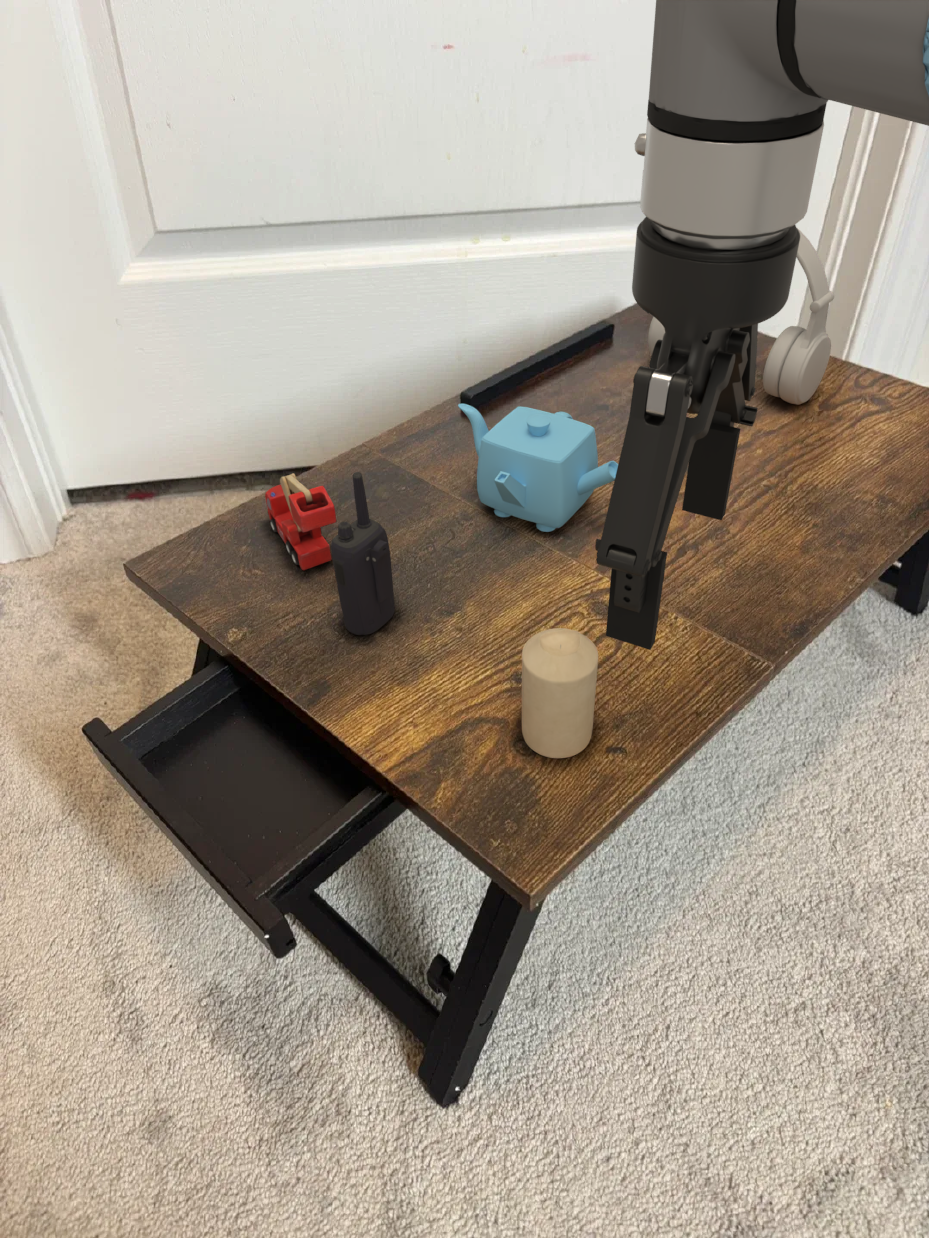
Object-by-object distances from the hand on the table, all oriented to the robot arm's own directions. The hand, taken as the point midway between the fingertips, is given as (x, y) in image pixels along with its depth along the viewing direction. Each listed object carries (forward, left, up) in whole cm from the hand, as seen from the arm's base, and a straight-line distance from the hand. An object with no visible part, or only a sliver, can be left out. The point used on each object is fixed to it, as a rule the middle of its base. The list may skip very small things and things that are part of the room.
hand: (669, 571), depth 58 cm
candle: (+6, +3, -19) cm, 20 cm away
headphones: (+32, -52, -19) cm, 64 cm away
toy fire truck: (+39, +5, -19) cm, 44 cm away
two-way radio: (+26, +6, -19) cm, 33 cm away
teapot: (+29, -16, -19) cm, 39 cm away
